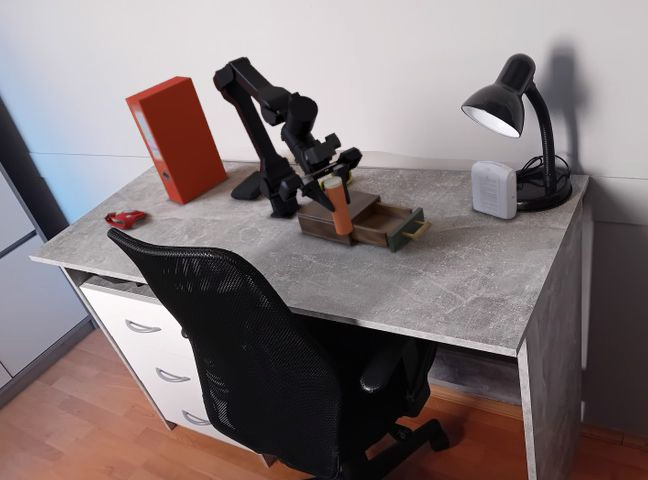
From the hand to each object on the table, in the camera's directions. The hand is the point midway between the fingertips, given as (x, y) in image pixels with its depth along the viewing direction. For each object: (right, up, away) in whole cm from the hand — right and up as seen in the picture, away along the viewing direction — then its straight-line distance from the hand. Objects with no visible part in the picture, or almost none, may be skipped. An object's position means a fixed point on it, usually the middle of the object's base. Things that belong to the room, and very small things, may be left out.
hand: (341, 207), depth 113 cm
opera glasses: (-2, +10, +38) cm, 40 cm away
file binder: (-45, +13, +57) cm, 74 cm away
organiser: (0, -2, +21) cm, 21 cm away
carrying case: (-25, +11, +48) cm, 55 cm away
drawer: (+11, -4, +12) cm, 17 cm away
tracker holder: (-65, +2, +49) cm, 81 cm away
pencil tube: (+1, -4, +5) cm, 6 cm away
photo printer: (+35, 0, +12) cm, 37 cm away
